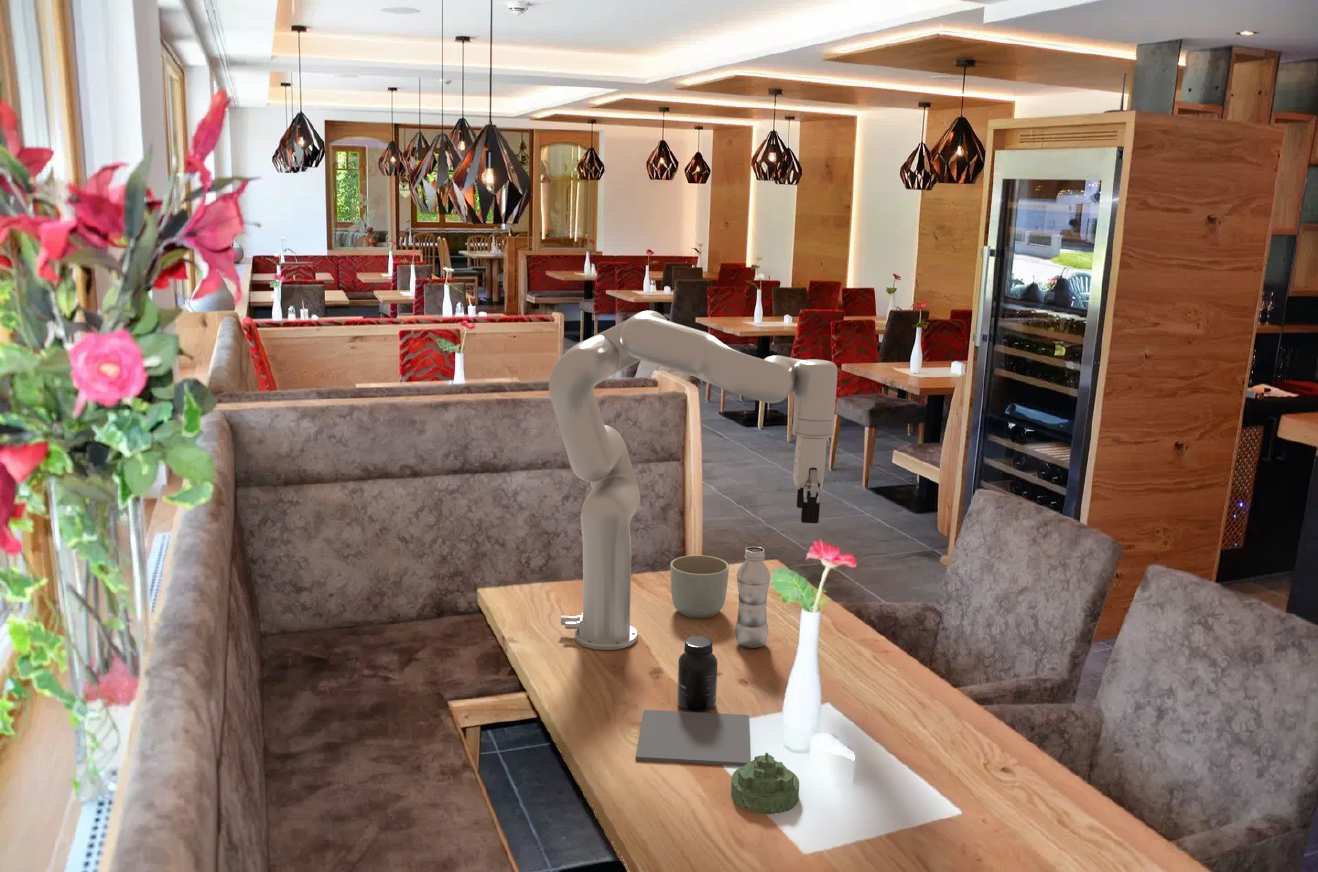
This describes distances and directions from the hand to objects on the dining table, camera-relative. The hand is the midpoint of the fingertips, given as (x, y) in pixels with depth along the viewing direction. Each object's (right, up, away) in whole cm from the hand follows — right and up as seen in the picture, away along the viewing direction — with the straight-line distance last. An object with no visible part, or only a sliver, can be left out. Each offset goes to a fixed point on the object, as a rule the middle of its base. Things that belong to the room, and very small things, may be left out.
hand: (807, 515), depth 202 cm
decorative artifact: (-12, -39, -43) cm, 59 cm away
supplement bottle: (-21, -32, -15) cm, 42 cm away
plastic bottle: (-10, -27, +11) cm, 31 cm away
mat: (-22, -35, -27) cm, 49 cm away
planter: (-20, -23, +27) cm, 41 cm away
